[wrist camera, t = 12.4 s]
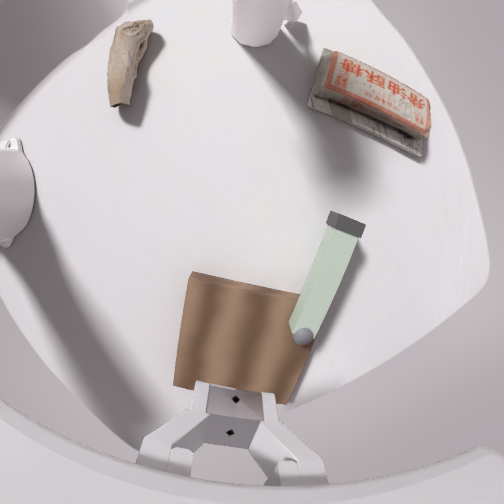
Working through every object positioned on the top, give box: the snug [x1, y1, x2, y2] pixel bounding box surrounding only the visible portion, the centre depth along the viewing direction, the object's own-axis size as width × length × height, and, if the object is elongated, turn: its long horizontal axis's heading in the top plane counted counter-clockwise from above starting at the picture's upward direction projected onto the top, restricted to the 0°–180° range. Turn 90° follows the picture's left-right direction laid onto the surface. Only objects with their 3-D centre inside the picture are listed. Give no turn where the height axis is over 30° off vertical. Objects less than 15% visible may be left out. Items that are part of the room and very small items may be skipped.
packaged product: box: [307, 48, 431, 157], centre depth 30 cm, size 18×5×10 cm
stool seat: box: [173, 271, 316, 405], centre depth 38 cm, size 18×18×3 cm
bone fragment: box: [107, 20, 153, 108], centre depth 27 cm, size 14×6×5 cm, turn 174°
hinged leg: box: [289, 211, 366, 345], centre depth 33 cm, size 16×3×3 cm, turn 161°
